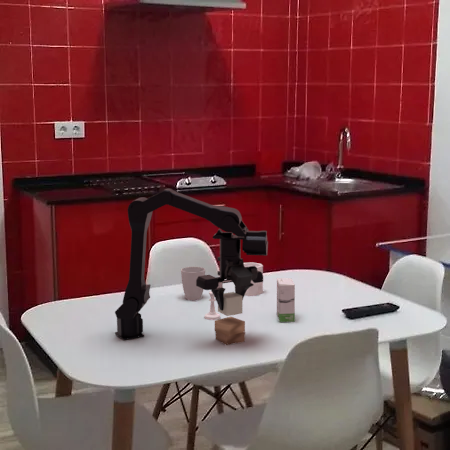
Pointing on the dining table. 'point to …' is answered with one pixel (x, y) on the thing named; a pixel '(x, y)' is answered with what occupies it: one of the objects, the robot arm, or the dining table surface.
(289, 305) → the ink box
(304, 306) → the dining table surface
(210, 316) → the chess piece
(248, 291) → the mug
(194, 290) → the cup
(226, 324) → the tower top
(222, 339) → the tower base
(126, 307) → the robot arm
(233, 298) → the cube
